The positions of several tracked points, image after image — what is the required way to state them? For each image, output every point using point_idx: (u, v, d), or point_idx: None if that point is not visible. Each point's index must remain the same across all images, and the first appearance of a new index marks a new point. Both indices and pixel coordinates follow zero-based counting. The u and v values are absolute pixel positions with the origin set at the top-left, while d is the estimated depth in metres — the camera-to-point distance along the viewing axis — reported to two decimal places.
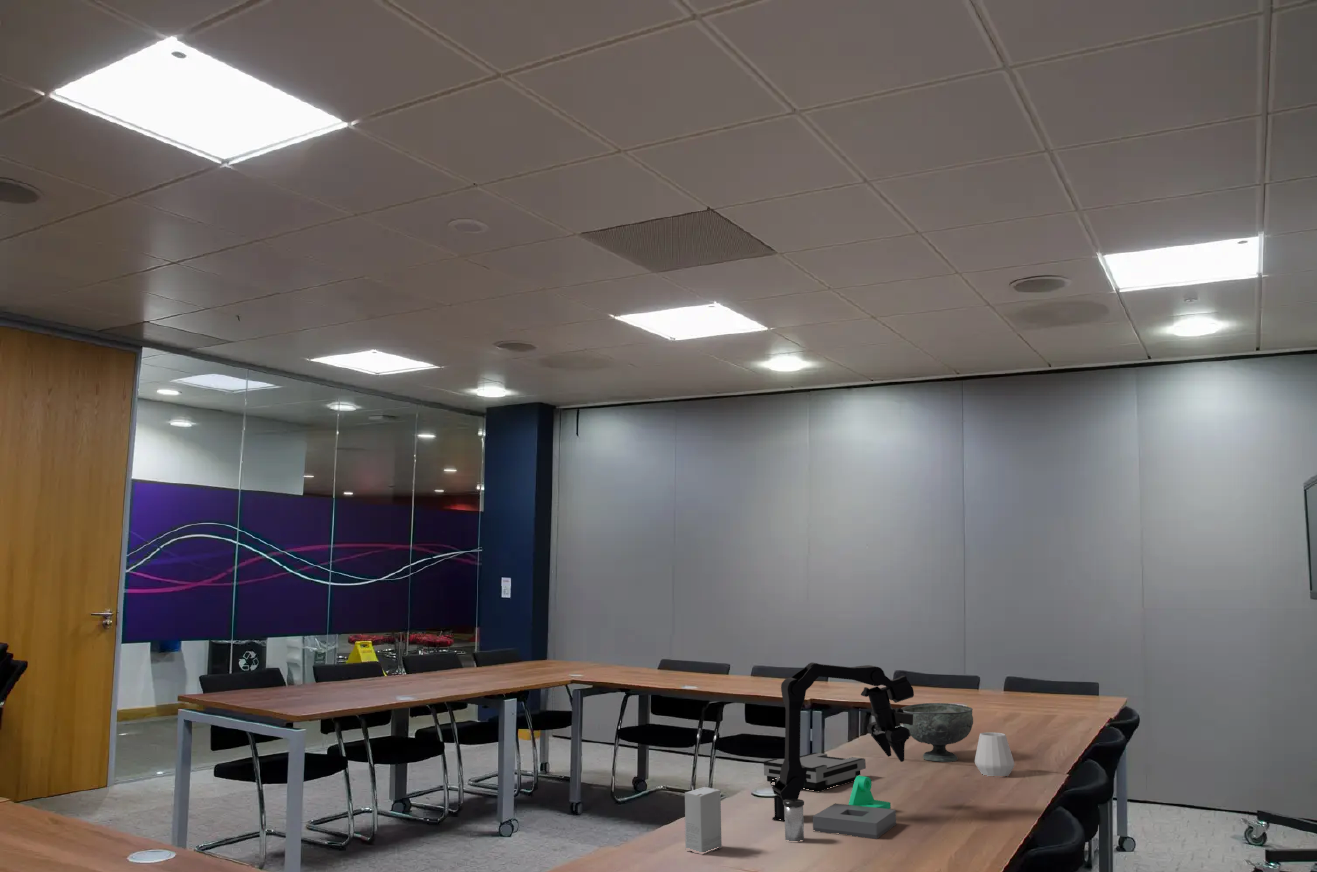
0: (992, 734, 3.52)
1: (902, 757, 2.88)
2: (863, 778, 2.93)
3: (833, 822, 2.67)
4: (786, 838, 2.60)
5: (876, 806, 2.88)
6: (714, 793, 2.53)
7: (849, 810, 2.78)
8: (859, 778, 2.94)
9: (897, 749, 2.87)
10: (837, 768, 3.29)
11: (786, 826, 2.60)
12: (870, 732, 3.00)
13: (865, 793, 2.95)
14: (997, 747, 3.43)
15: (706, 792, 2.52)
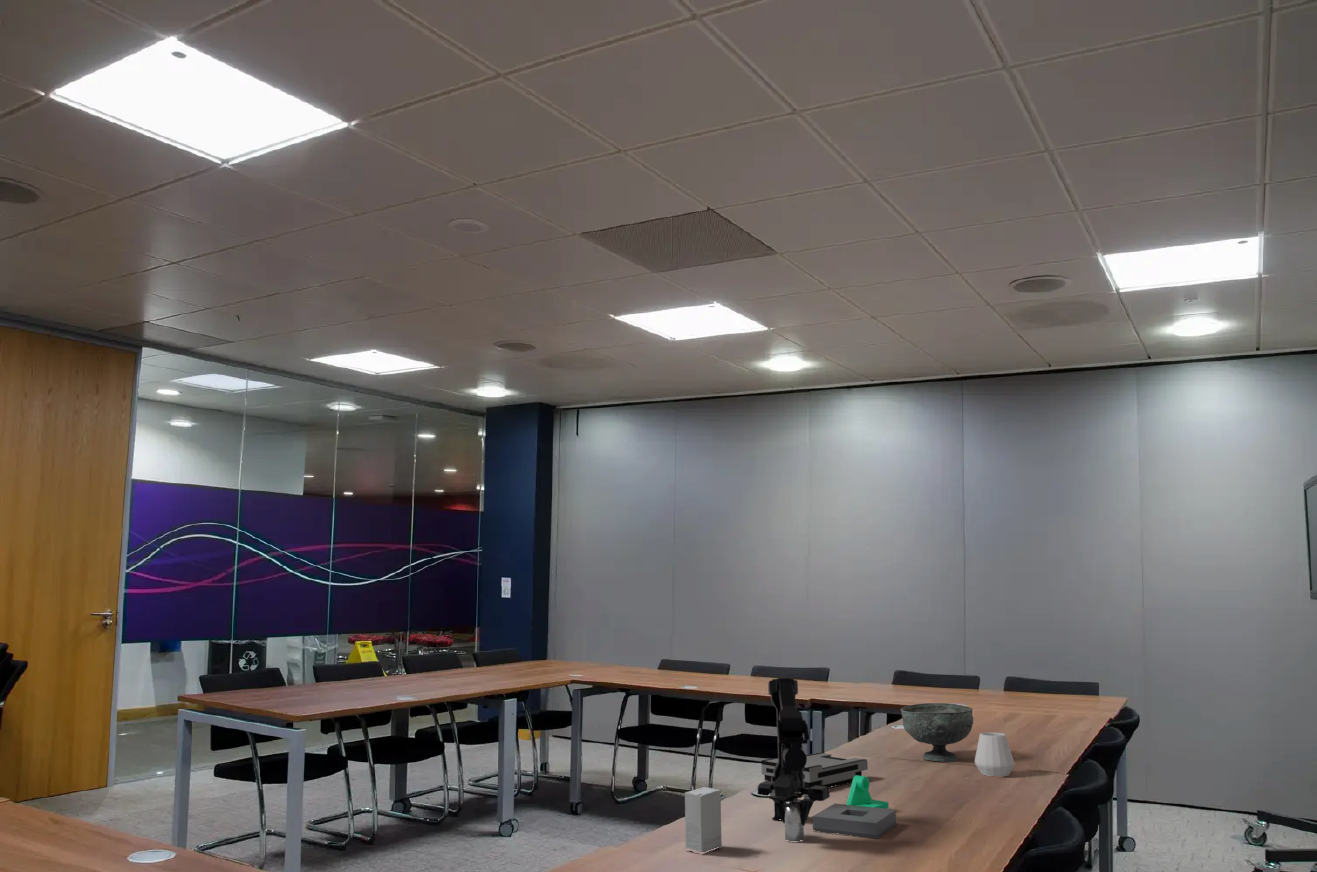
0: (992, 734, 3.52)
1: None
2: (861, 778, 2.93)
3: (833, 822, 2.67)
4: (786, 838, 2.60)
5: (874, 806, 2.89)
6: (714, 793, 2.53)
7: (849, 810, 2.78)
8: (857, 777, 2.94)
9: None
10: (834, 769, 3.29)
11: (786, 826, 2.60)
12: None
13: (863, 793, 2.95)
14: (997, 747, 3.43)
15: (706, 792, 2.52)
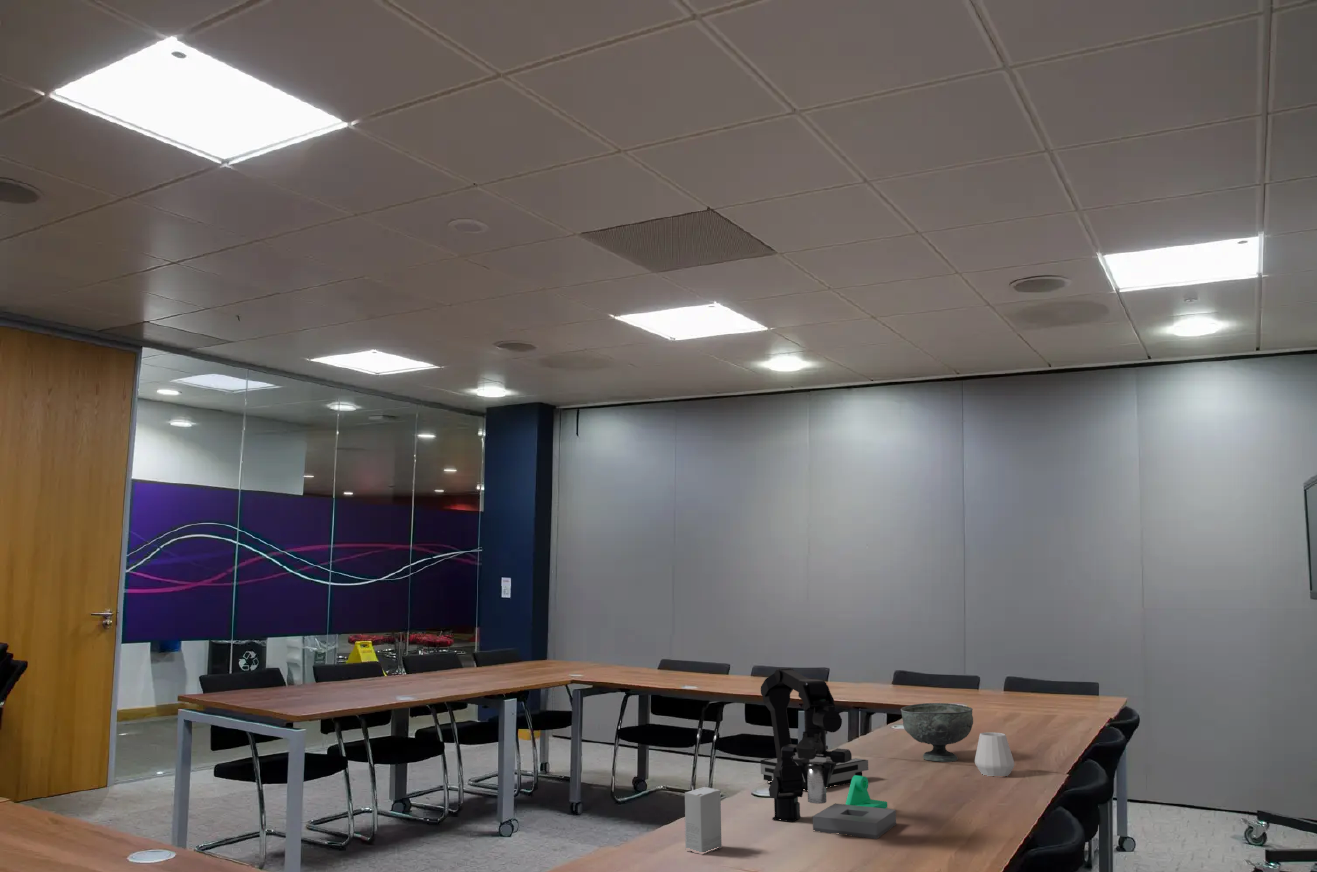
0: (992, 734, 3.52)
1: None
2: (860, 778, 2.94)
3: (833, 822, 2.67)
4: (809, 799, 2.66)
5: (873, 805, 2.89)
6: (714, 793, 2.53)
7: (849, 810, 2.78)
8: (856, 777, 2.94)
9: None
10: None
11: (809, 788, 2.67)
12: None
13: (862, 793, 2.95)
14: (997, 747, 3.43)
15: (706, 792, 2.52)
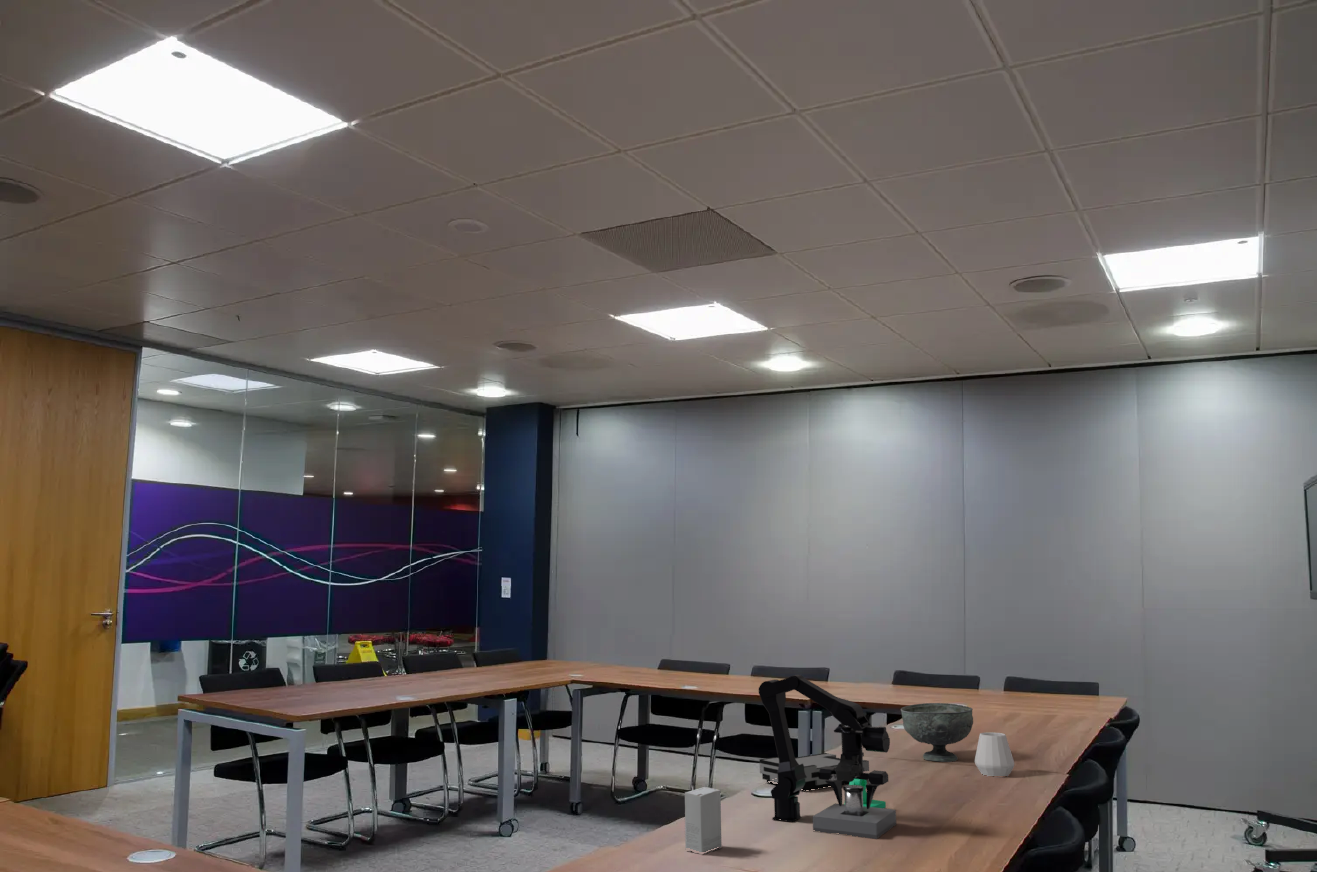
0: (992, 734, 3.52)
1: None
2: None
3: (833, 822, 2.67)
4: None
5: (872, 805, 2.90)
6: (714, 793, 2.53)
7: None
8: None
9: None
10: None
11: (847, 811, 2.73)
12: None
13: None
14: (997, 747, 3.43)
15: (706, 792, 2.52)
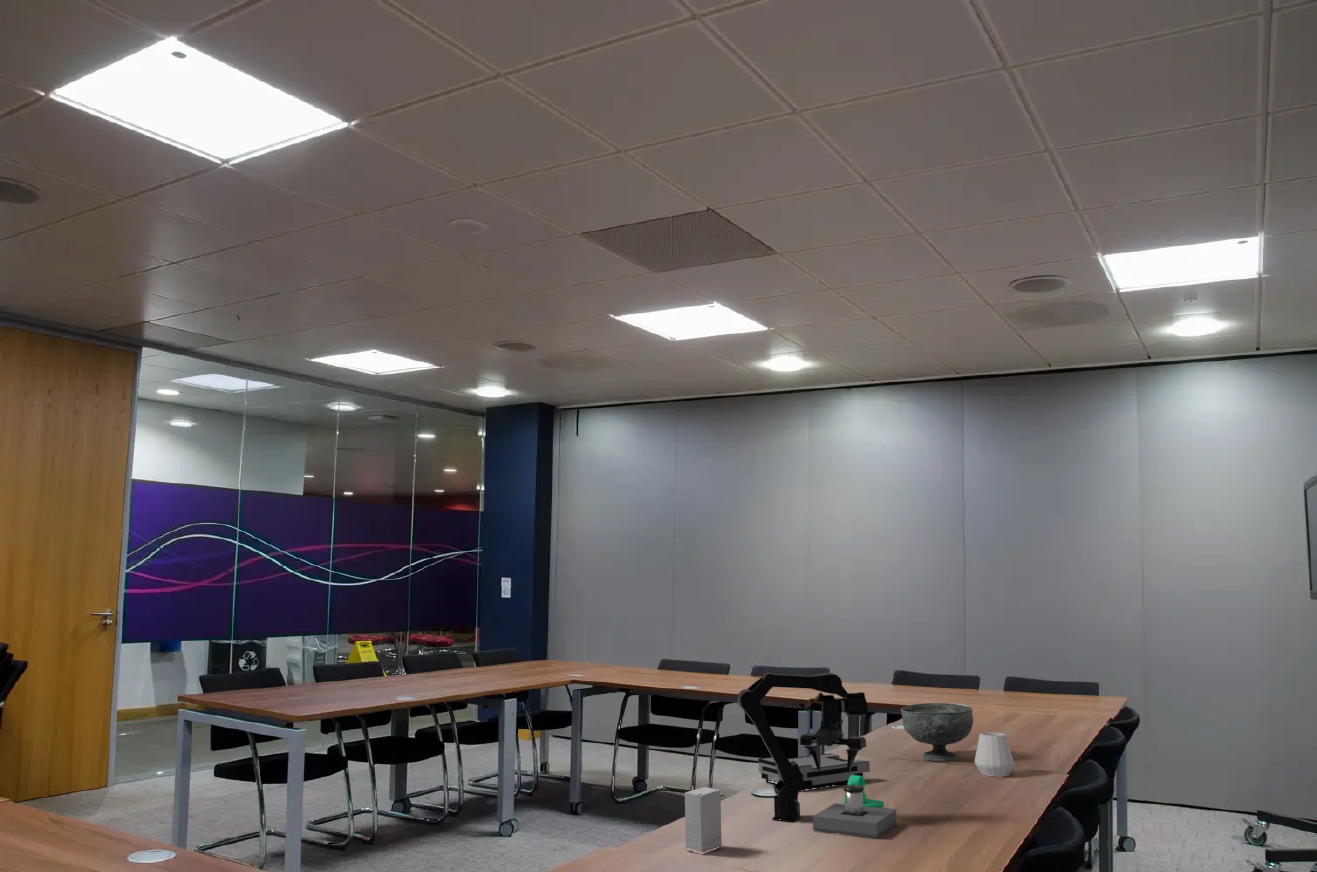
0: (992, 734, 3.52)
1: None
2: (857, 777, 2.94)
3: (833, 822, 2.67)
4: None
5: (870, 805, 2.90)
6: (714, 793, 2.53)
7: None
8: (853, 777, 2.95)
9: None
10: (827, 769, 3.28)
11: (847, 811, 2.73)
12: None
13: None
14: (997, 747, 3.43)
15: (706, 792, 2.52)
